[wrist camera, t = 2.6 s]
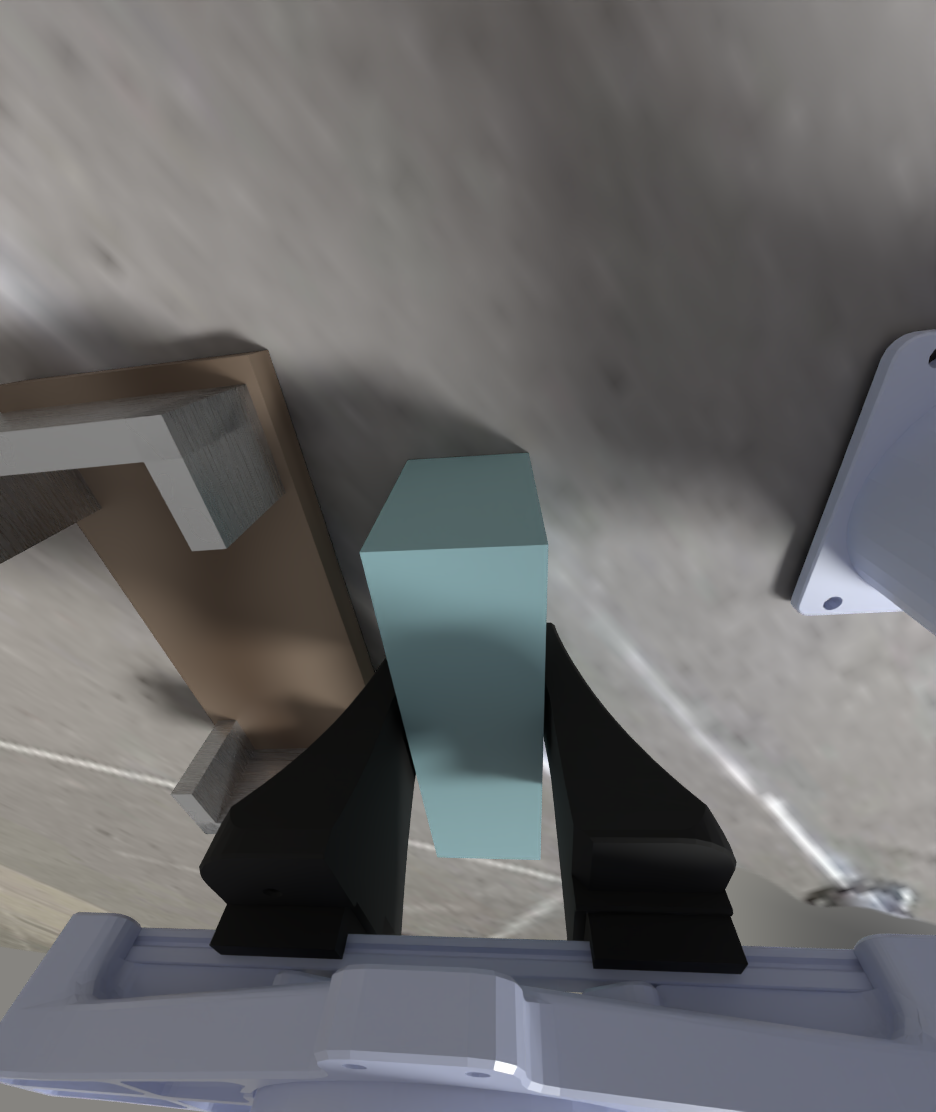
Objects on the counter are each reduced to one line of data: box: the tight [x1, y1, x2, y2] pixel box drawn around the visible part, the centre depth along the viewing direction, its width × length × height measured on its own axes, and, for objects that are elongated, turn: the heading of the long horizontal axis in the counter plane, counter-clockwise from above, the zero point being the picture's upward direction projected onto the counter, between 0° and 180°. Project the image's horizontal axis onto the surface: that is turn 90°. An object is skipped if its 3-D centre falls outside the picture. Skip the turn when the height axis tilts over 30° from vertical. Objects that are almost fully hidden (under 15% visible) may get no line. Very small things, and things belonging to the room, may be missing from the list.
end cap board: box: [0, 350, 375, 749], centre depth 15 cm, size 7×16×1 cm, turn 7°
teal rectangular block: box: [360, 453, 548, 860], centre depth 13 cm, size 3×12×5 cm, turn 5°
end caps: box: [0, 384, 307, 834], centre depth 13 cm, size 6×15×3 cm, turn 6°
